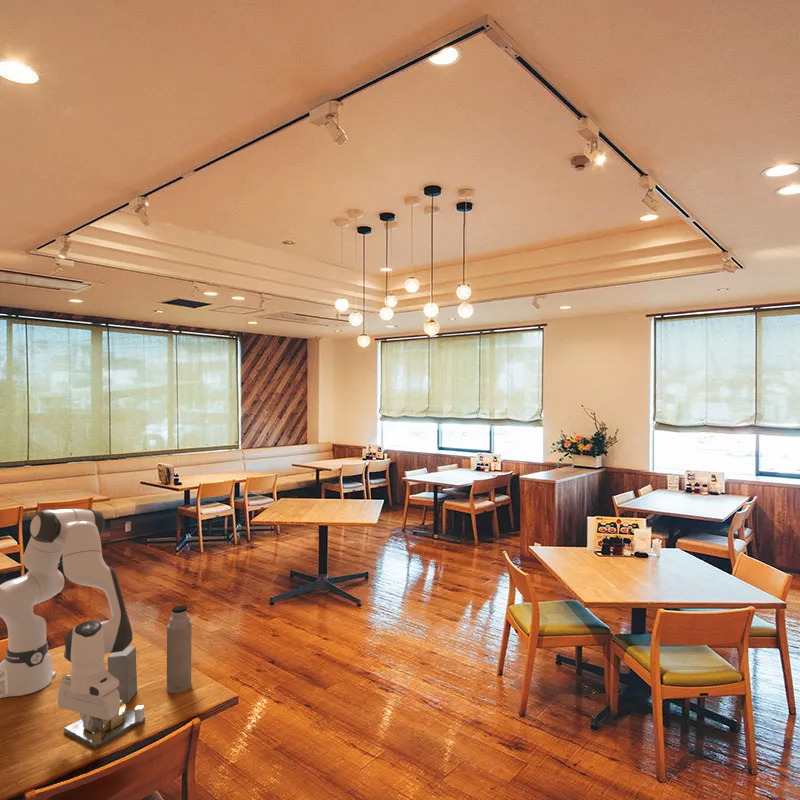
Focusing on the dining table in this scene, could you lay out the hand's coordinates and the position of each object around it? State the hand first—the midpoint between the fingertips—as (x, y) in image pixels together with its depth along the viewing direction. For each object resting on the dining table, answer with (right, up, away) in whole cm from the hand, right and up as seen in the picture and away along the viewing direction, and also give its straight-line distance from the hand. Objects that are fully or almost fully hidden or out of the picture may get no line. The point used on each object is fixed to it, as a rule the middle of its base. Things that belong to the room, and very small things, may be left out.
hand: (88, 726), depth 161 cm
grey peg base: (0, -5, +9) cm, 10 cm away
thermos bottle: (+14, -6, +32) cm, 36 cm away
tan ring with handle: (+1, -4, +6) cm, 7 cm away
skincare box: (-3, -6, +26) cm, 26 cm away
